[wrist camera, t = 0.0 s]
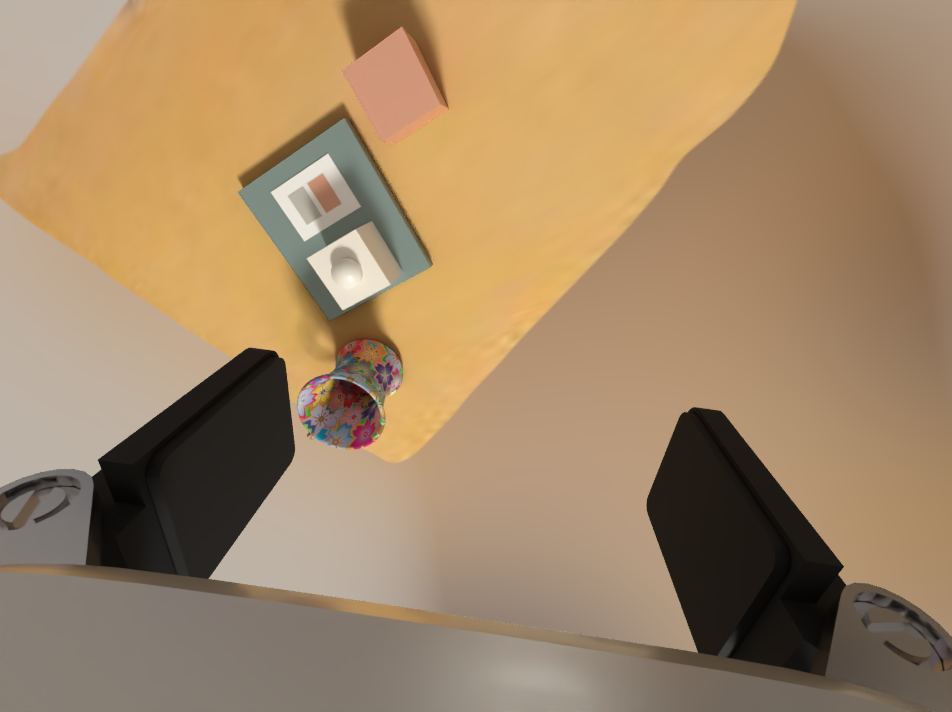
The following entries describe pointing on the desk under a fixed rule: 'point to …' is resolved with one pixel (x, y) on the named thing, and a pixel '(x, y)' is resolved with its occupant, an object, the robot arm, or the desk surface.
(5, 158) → the desk surface
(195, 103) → the desk surface
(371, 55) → the terracotta brick
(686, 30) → the desk surface
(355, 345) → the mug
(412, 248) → the baseplate
